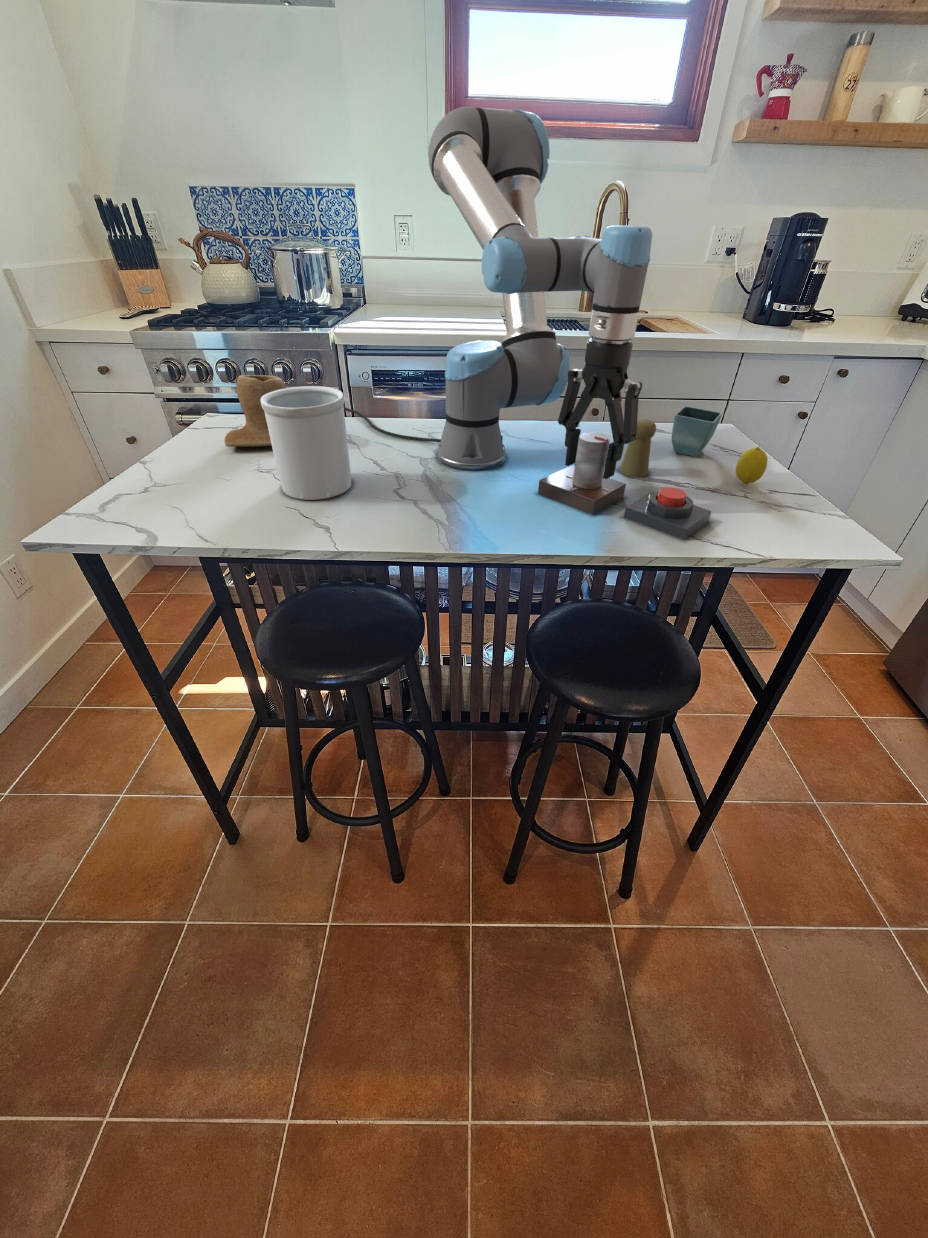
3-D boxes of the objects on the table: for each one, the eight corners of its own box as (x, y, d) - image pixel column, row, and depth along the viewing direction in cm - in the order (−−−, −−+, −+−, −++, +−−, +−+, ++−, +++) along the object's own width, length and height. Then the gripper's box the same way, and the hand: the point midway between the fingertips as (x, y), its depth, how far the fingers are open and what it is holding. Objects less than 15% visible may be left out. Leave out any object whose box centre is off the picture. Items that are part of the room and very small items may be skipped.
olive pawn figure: (648, 478, 117) (661, 426, 110) (619, 475, 118) (630, 423, 111) (646, 467, 122) (658, 417, 115) (619, 464, 122) (629, 414, 116)
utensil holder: (263, 485, 110) (244, 395, 100) (325, 465, 119) (313, 380, 108) (306, 509, 102) (289, 413, 92) (368, 485, 111) (360, 396, 100)
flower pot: (711, 450, 131) (723, 412, 125) (702, 462, 125) (714, 422, 119) (674, 442, 134) (684, 405, 129) (664, 453, 128) (674, 414, 123)
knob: (566, 482, 107) (573, 435, 101) (583, 474, 110) (590, 428, 104) (591, 491, 104) (599, 443, 98) (606, 483, 107) (615, 435, 101)
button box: (623, 517, 102) (627, 497, 100) (650, 501, 108) (654, 482, 105) (683, 540, 96) (689, 519, 93) (708, 521, 101) (714, 501, 99)
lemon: (759, 482, 116) (772, 445, 111) (758, 492, 112) (772, 454, 107) (731, 477, 118) (743, 440, 113) (729, 486, 114) (742, 449, 109)
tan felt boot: (298, 433, 135) (287, 367, 126) (295, 450, 126) (283, 381, 117) (234, 435, 133) (218, 369, 124) (226, 453, 123) (208, 383, 114)
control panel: (537, 494, 110) (539, 479, 108) (569, 478, 116) (571, 464, 114) (592, 515, 103) (595, 499, 101) (623, 497, 109) (626, 482, 107)
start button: (652, 501, 99) (654, 492, 98) (664, 493, 102) (667, 484, 101) (676, 510, 97) (679, 500, 96) (689, 501, 100) (691, 492, 99)
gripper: (547, 332, 95) (534, 460, 109) (656, 352, 84) (626, 492, 97) (572, 327, 99) (556, 450, 113) (679, 346, 88) (647, 480, 102)
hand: (589, 469), depth 105 cm, fingers open, 8 cm apart
